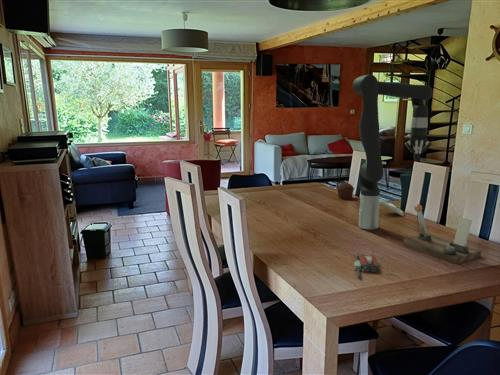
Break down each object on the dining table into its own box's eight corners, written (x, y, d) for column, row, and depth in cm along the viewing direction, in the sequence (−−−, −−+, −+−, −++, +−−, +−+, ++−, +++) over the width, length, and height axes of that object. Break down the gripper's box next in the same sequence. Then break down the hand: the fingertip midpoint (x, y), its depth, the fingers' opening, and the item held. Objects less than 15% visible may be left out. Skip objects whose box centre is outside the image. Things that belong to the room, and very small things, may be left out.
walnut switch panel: (427, 239, 182) (428, 228, 181) (480, 256, 161) (481, 244, 160) (403, 245, 175) (404, 234, 174) (455, 264, 153) (456, 251, 152)
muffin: (355, 199, 261) (356, 185, 259) (338, 199, 261) (339, 185, 259) (351, 195, 273) (351, 181, 271) (335, 196, 273) (335, 181, 271)
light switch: (404, 213, 220) (381, 200, 222) (398, 222, 221) (375, 208, 224) (404, 209, 227) (381, 196, 230) (398, 218, 229) (376, 205, 232)
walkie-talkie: (352, 259, 160) (356, 280, 141) (352, 249, 160) (356, 268, 140) (374, 260, 159) (381, 281, 140) (375, 250, 158) (382, 270, 139)
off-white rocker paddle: (454, 245, 162) (461, 217, 161) (464, 249, 158) (472, 220, 157) (452, 245, 162) (460, 217, 161) (462, 248, 158) (470, 219, 157)
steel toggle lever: (424, 233, 176) (416, 202, 170) (430, 235, 173) (423, 203, 167) (420, 237, 175) (411, 206, 169) (426, 239, 172) (418, 207, 166)
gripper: (407, 127, 195) (405, 161, 198) (435, 126, 193) (432, 162, 197) (403, 126, 202) (401, 159, 206) (430, 126, 200) (428, 160, 204)
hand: (416, 160), depth 201 cm, fingers closed
